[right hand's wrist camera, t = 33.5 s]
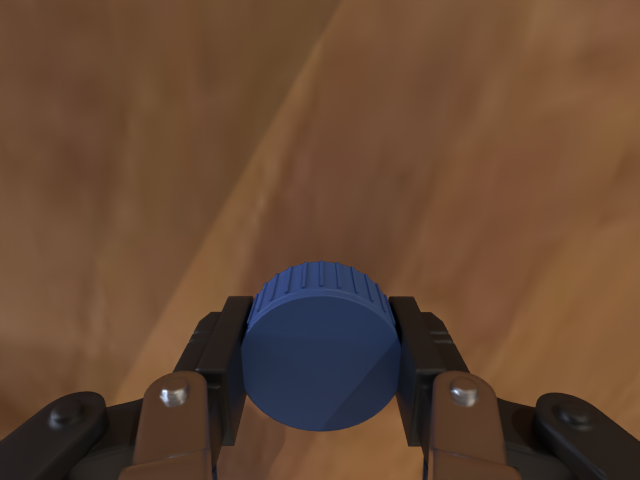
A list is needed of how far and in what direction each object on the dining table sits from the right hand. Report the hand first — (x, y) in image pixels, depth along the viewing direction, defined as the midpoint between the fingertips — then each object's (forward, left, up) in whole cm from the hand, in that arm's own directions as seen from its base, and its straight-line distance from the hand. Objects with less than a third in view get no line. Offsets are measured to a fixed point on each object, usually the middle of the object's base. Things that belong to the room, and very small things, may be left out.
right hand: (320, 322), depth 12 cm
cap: (0, 0, +2) cm, 2 cm away
